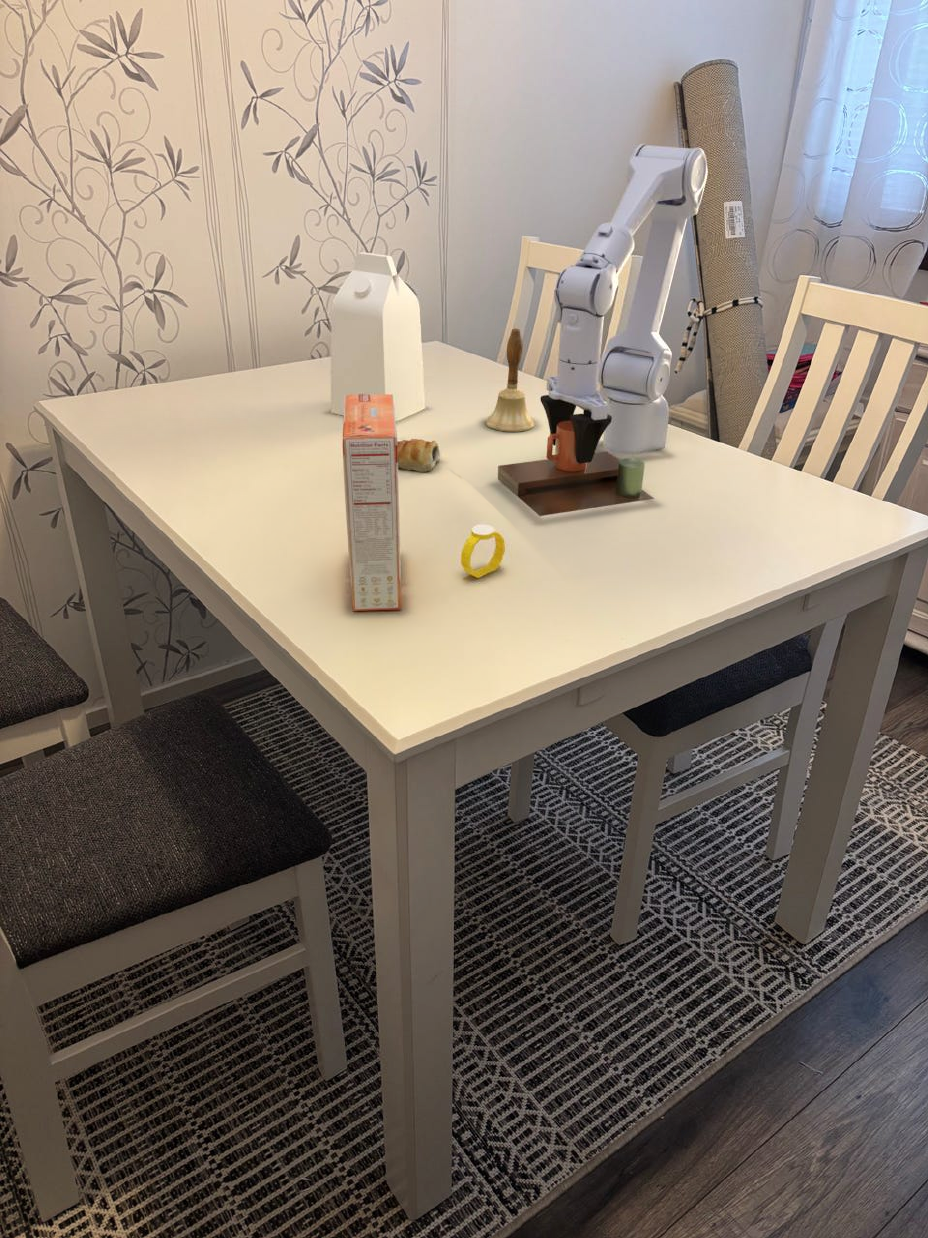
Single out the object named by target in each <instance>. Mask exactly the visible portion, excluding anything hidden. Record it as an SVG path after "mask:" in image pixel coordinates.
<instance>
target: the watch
mask: <svg viewBox="0 0 928 1238" xmlns="http://www.w3.org/2000/svg"><path fill="white" fill-rule="evenodd" d="M470 534H471V535H470V536H469V537H468V538H467V540H466V541H465V542H464V545H463V547H462V550H461V553H460V563H461V566H462V569H463V571H464V572H465V573H466V574H469V575H471V576H473V577H475V578H476V579H479V578H482V577H484V576H486V575H488V574H490V573H492V572H494V571H496V570H497V569H498V568H499V566H500V564H501V563H502V560H503V558H504V554H505V552H506V551H505V550H506V546H505V539H504V537H503V536H502V534H501V533H500V532H498V531H496V529H495V527H494V526H493V525H489V524H477V525H474V526H472V528H471V529H470ZM492 538H494V543H495V548H494V552H493V556H492V557H491V558H490V560H489V562H488V563H487V564H486V565H484V566H482V567H480V568H478V569H475V570H473V568H472V566H471V556H472V554H473V551H474V549H475V546H476V545H477V544H479V542H480V540H481V541H482V540H483V541H484V540H490V539H492Z"/></svg>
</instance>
